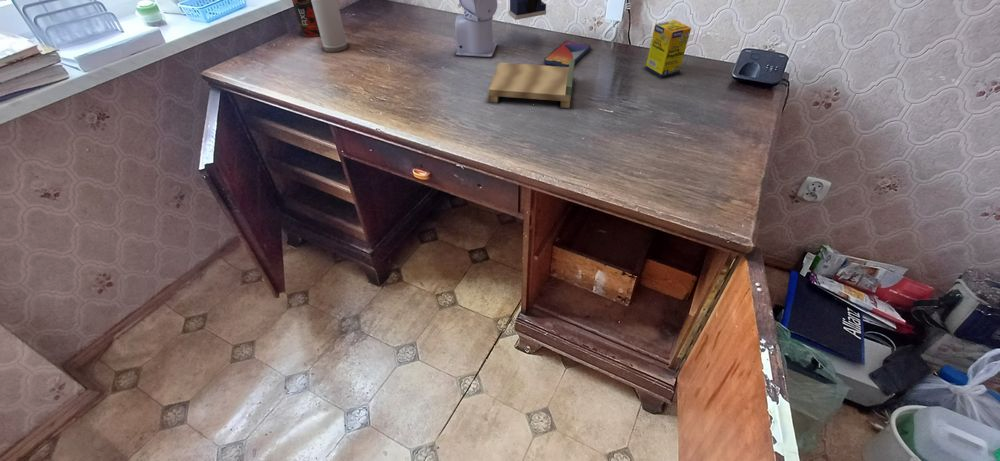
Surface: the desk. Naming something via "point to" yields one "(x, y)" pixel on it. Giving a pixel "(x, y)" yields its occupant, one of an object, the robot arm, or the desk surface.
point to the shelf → (533, 82)
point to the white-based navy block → (525, 9)
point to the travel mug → (330, 25)
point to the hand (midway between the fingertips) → (527, 9)
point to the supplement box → (667, 48)
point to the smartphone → (566, 53)
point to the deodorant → (306, 18)
